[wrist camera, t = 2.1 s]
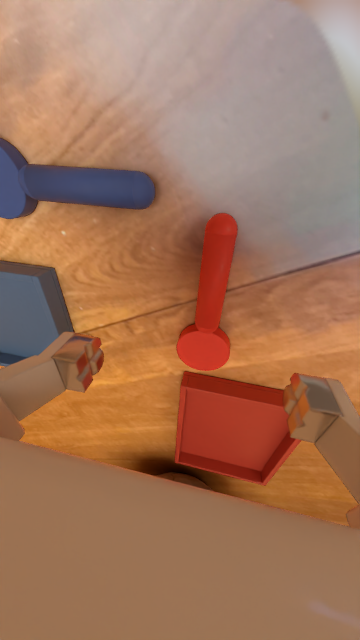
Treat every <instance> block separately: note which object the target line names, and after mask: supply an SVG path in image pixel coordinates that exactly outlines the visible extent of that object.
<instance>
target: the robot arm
mask: <svg viewBox="0 0 360 640" xmlns="http://www.w3.org/2000/svg"><path fill="white" fill-rule="evenodd" d="M101 345H102V344H101V340H100V338H98V337H94V336H89V335H84V334H79V333H73V332H68V331H66V332H63V333H62V334H61V335H60V336H59V337H58V338H57V339H56V340H55V341H53V342H52V343H51V344H50V345H49V346H48V347H47V348H46V349H45V350H44V351H43V352H42V353H41V354H39V355H38V356H37V355H34V356H31V357H29V358H26V359H24V360H21V361H19V362H16V363H14V364H11V365H9V366H6V367H4V368H1V369H0V640H360V417H359V415H358V413H357V411H356V410H355V408H354V406H353V404H352V402H351V400H350V399H349V397H348V395H347V393H346V391H345V389H344V387H343V386H342V384H341V382H340V381H338V380H336V379H330V378H324V377H323V378H322V377H317V376H311V375H306V374H300V373H294V374H293V375H292V376H291V378H290V381H291V384H290V385H288V386H286V387H285V390H284V392H283V397H282V401H283V408H284V410H285V412H286V413H287V414H288V415H289V417H288V418H287V420H286V421H287V425H288V429H289V434H290V437H291V438H295V439H299V440H303V441H307V442H312V443H315V444H314V445H315V446H316V447H317V449H318V450H319V451H320V453H321V454H322V455H323V457H324V458H325V459H326V461H327V462H328V463H329V465H330V466H331V467H332V469H333V470H334V471H335V473H336V474H337V475H338V477H339V478H340V479H341V481H342V482H343V484H344V485H345V486H346V488H347V489H348V490H349V492H350V493H351V494H352V496H353V497H354V498H355V500H356V501H357V502H358V504H359V505H358V506H356V507H354V508H352V509H351V510H349V511H348V512H347V513H346V517H347V520H348V523H349V526H350V527H349V526H345V525H341V524H337V523H333V522H329V521H326V520H322V519H318V518H314V517H310V516H306V515H303V514H299V513H295V512H291V511H287V510H283V509H279V508H276V507H272V506H268V505H264V504H260V503H256V502H253V501H249V500H245V499H241V498H237V497H233V496H229V495H226V494H222V493H218V492H214V491H210V490H206V489H203V488H199V487H195V486H191V485H187V484H183V483H179V482H176V481H172V480H168V479H164V478H160V477H156V476H153V475H149V474H145V473H141V472H137V471H133V470H129V469H126V468H122V467H118V466H114V465H110V464H106V463H102V462H99V461H95V460H91V459H87V458H83V457H79V456H76V455H72V454H68V453H64V452H60V451H56V450H52V449H49V448H45V447H41V446H37V445H33V444H29V443H25V442H22V441H19V440H20V439H21V437H22V436H23V435H24V434H25V430H24V428H23V427H22V425H21V424H20V423H19V421H20V420H22V419H23V418H25V417H26V416H28V415H29V414H31V413H32V412H34V411H35V410H37V409H38V408H40V407H41V406H43V405H44V404H46V403H47V402H49V401H50V400H52V399H53V398H55V397H56V396H58V395H59V394H61V393H62V392H64V391H65V390H66V389H68V390H73V391H79V392H84V393H85V391H86V390H87V388H88V387H89V385H90V384H91V382H92V381H93V377H92V375H94V374H96V373H98V372H99V370H100V369H101V367H102V364H103V361H104V354H103V351H102V350H101V349H100V348H99V347H100V346H101Z"/></svg>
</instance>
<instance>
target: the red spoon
mask: <svg viewBox="0 0 360 640" xmlns="http://www.w3.org/2000/svg"><path fill="white" fill-rule="evenodd" d="M237 230H238V228H237V223H236V221H235V219H234V218H233V217H232V216H230V215H229V214H226V213H219V214H216V215H214V216H213V217H211V218H210V220H209V221H208V222H207V225H206V228H205V235H204V244H203V253H202V262H201V271H200V280H199V288H198V297H197V306H196V315H195V324H193V325H190V326H188V327H187V328H185V329H184V330H183V331H182V332H181V334H180V337H179V340H178V343H177V353H178V356H179V358H180V359H181V360H182V361H183V362H184V363H185V364H186V365H188V366H190V367H192V368H194V369H198V370H204V371H209V370H215V369H218V368H220V367H222V366H223V365H224V364H225V363H226V362H227V360H228V359H229V355H230V342H229V339H228V337H227V335H226V334H225V333H224V332H223V331H222V330H221V329H219V328H218V326H219V323H220V318H221V313H222V308H223V302H224V297H225V292H226V287H227V282H228V277H229V272H230V267H231V262H232V257H233V252H234V247H235V242H236V237H237Z"/></svg>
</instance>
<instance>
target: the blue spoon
mask: <svg viewBox="0 0 360 640" xmlns="http://www.w3.org/2000/svg"><path fill="white" fill-rule="evenodd" d="M154 197H155V187H154V184H153V182H152V180H151V179H150V177H149V176H148V175H146V174H145V173H143V172H140V171H128V170H113V169H97V168H82V167H67V166H51V165H36V164H29V165H28V163H27V162H26V160H25V159H24V157H23V156H22V155H21V154H20V153H19V151H18V150H17V149H16V148H15V147H14V146H12V145H11V144H10V143H8V142H7V141H5V140H4V139H2V138H0V217H2V218H6V219H13V218H18V217H23V216H27V215H29V214H31V213H32V212H33V211H34V209H35V208H36V205H37V201H38V200H40V201H50V202H61V203H72V204H83V205H94V206H105V207H116V208H127V209H138V210H139V209H146V208H147V207H149V206H150V205H151V204H152V202H153V200H154Z"/></svg>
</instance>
